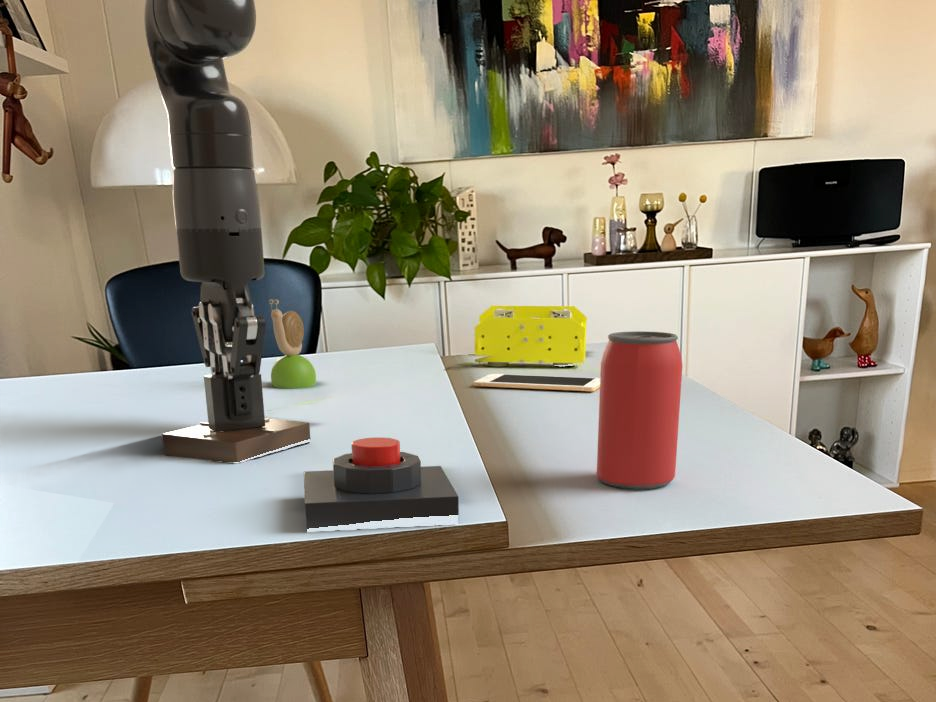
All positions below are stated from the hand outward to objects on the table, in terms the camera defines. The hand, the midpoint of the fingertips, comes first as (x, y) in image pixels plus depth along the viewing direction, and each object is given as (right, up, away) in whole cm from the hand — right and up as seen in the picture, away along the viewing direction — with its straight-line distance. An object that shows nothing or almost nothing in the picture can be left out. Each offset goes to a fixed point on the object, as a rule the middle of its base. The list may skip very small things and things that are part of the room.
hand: (235, 417), depth 100 cm
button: (+16, -8, -22) cm, 28 cm away
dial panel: (0, -3, +1) cm, 3 cm away
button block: (+16, -12, -20) cm, 28 cm away
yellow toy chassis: (+31, +19, +55) cm, 66 cm away
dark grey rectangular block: (0, -1, 0) cm, 1 cm away
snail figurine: (+1, +8, +27) cm, 28 cm away
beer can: (+37, -8, -12) cm, 39 cm away
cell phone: (+32, +12, +37) cm, 50 cm away
